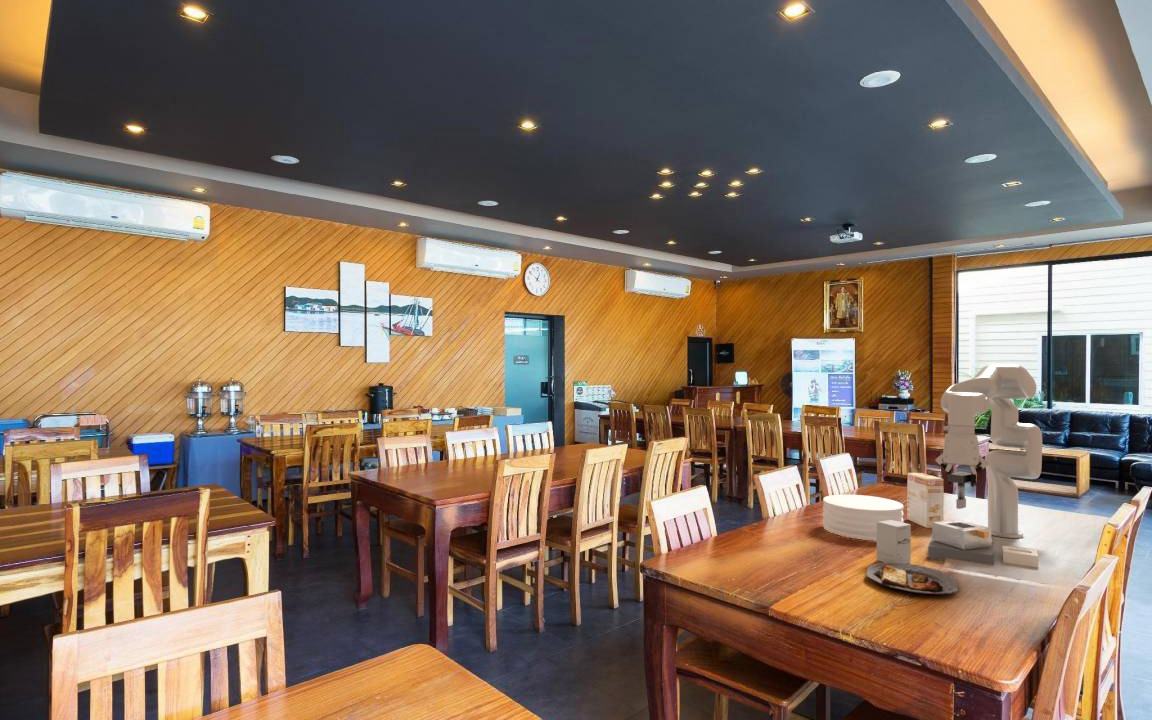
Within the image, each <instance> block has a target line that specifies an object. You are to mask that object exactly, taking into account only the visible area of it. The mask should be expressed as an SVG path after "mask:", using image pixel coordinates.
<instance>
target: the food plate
mask: <svg viewBox="0 0 1152 720" xmlns="http://www.w3.org/2000/svg"><path fill="white" fill-rule="evenodd" d="M866 569H867V570H866V572H865V575H866V577H867V578H868V579H869V580H871V581H873V582H875V583H878V584H880V585H881V586H884V587H886V588H890V589H895V590H896V589H897V590H900V591H906V592H910V593H912V594H921V595H940V596H941V595H952V593H953V594H955V593H957V591H958V587H959V580H958V579H957V578H956V577H954V576H952V575H950V574H947V573H944V572H943V571H940V570H937V569H933V568H932V567H931V568H930V567H927V566H922V565H919V564H913V563H912V564H911V563H907V564H904V563H884V562H878V563H874V564H871V565H868V567H867V568H866Z"/></svg>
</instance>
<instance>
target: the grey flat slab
mask: <svg viewBox="0 0 1152 720" xmlns="http://www.w3.org/2000/svg"><path fill="white" fill-rule="evenodd" d="M994 545H995V543H994V541H991V547H983V548H975V549H966V550H963V549H960V548H957V547H954V546H950V545H947V544H944V543H941V542H937V541H934V540H932V536H931V537H930V541H929V542H928V545H927V558H928V559H930V560H931V559H932V560H940V561H944V562H945V561H946V559H952V560H957V561H965V562H970V563H971V562H972V563H977V564H984V565H989V566H994V565H995V563H994V562H995V561H994V560H995V557H994V554H995V551H994V549H995V548H994Z"/></svg>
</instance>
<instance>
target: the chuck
mask: <svg viewBox="0 0 1152 720" xmlns="http://www.w3.org/2000/svg"><path fill="white" fill-rule="evenodd" d="M931 537H932V540H934V541H937V542H941V543H944V544H947V545H950V546H954V547H957V548H960V549H963V550H966V549H975V548H983V547H991V542H992V535H991V528H989V527H988V526H984V525H980V524H976V523H973V522H968V521H965V520H962V519H951V520H943V521H940V522H932V528H931Z"/></svg>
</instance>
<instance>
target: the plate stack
mask: <svg viewBox="0 0 1152 720" xmlns="http://www.w3.org/2000/svg"><path fill="white" fill-rule="evenodd" d="M822 500H823V501H822V503H823V505H822V509H823V512H822V516H823V518H822V522H823V525H822V528H823V527H824V529H826V530H828V531H830V532H832V533H835V534H838V535H842V536H846V537H851V538H857V539H863V540H874V541H873V542H877V522H881V521H887V520H894V521H898V522H903V523H904V504H903V503H901V502H899V501H897V500H893V499H889V498H885V497H879V496H872V495H863V494H832V495H827V496H824V497H823V498H822ZM824 529H823V530H824ZM863 540H862V541H863Z"/></svg>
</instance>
